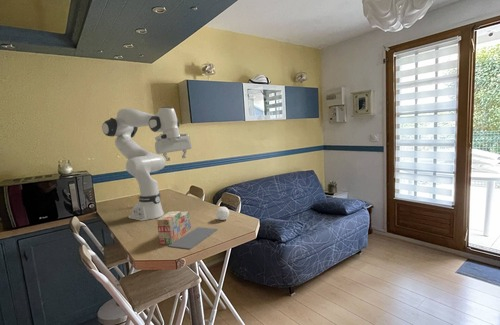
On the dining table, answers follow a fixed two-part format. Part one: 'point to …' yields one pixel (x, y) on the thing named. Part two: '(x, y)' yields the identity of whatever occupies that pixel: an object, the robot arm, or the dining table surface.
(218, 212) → the geometric ball
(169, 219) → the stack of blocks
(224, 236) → the dining table surface
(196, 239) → the mat
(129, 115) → the robot arm
